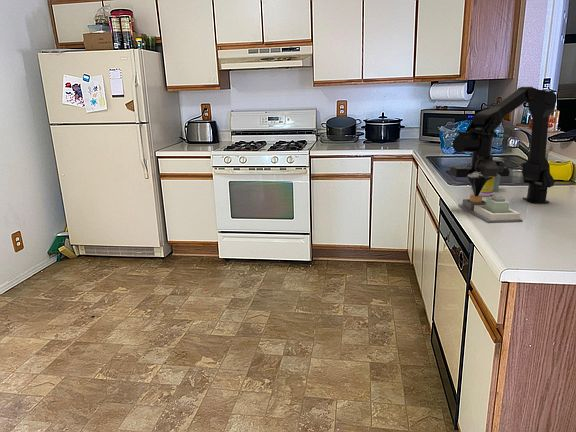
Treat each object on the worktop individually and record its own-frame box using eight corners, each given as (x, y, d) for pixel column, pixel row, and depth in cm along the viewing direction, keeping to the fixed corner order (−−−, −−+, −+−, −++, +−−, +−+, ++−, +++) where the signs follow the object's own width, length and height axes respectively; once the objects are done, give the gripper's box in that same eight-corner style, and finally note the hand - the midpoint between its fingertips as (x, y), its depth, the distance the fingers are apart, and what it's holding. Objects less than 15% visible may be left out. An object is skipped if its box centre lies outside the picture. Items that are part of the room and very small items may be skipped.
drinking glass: (493, 186, 189) (496, 158, 185) (505, 192, 179) (509, 162, 176) (469, 186, 188) (472, 158, 185) (480, 192, 179) (484, 162, 175)
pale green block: (484, 212, 148) (486, 196, 147) (497, 212, 149) (499, 195, 147) (494, 217, 142) (496, 200, 141) (507, 217, 143) (510, 200, 141)
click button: (466, 203, 156) (467, 194, 155) (477, 202, 157) (478, 194, 156) (472, 205, 152) (473, 197, 152) (483, 205, 153) (484, 197, 152)
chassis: (458, 206, 158) (459, 198, 158) (488, 205, 160) (489, 197, 159) (487, 222, 139) (488, 214, 139) (522, 221, 140) (523, 213, 140)
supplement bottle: (495, 194, 175) (500, 162, 171) (485, 197, 171) (490, 164, 167) (480, 191, 180) (484, 160, 176) (470, 193, 176) (474, 161, 173)
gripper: (466, 155, 141) (461, 202, 145) (522, 154, 142) (515, 201, 147) (451, 150, 151) (446, 194, 156) (502, 149, 153) (496, 193, 158)
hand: (476, 195), depth 154 cm, fingers closed, pressing on click button
